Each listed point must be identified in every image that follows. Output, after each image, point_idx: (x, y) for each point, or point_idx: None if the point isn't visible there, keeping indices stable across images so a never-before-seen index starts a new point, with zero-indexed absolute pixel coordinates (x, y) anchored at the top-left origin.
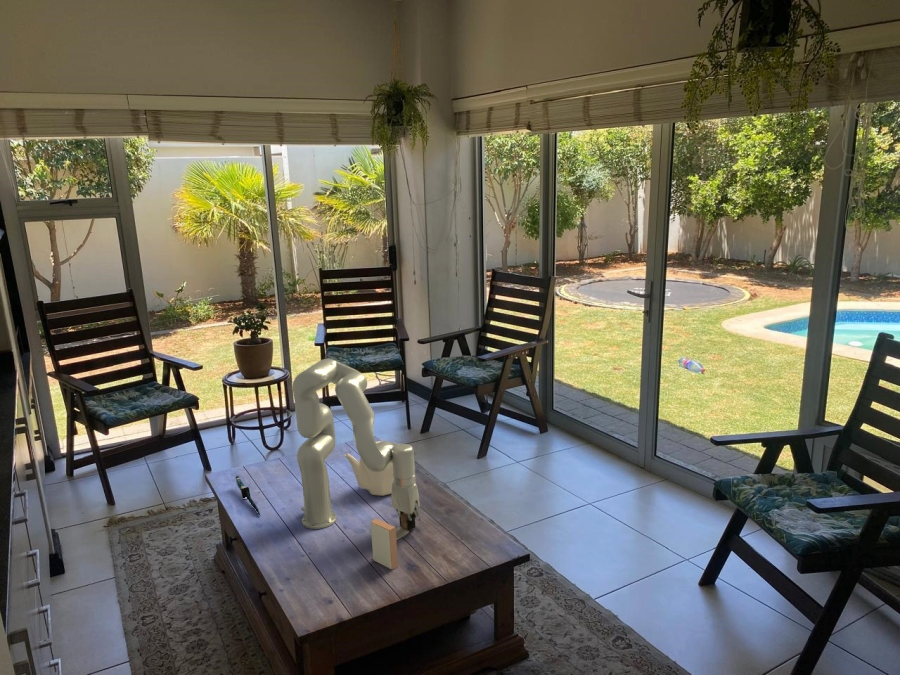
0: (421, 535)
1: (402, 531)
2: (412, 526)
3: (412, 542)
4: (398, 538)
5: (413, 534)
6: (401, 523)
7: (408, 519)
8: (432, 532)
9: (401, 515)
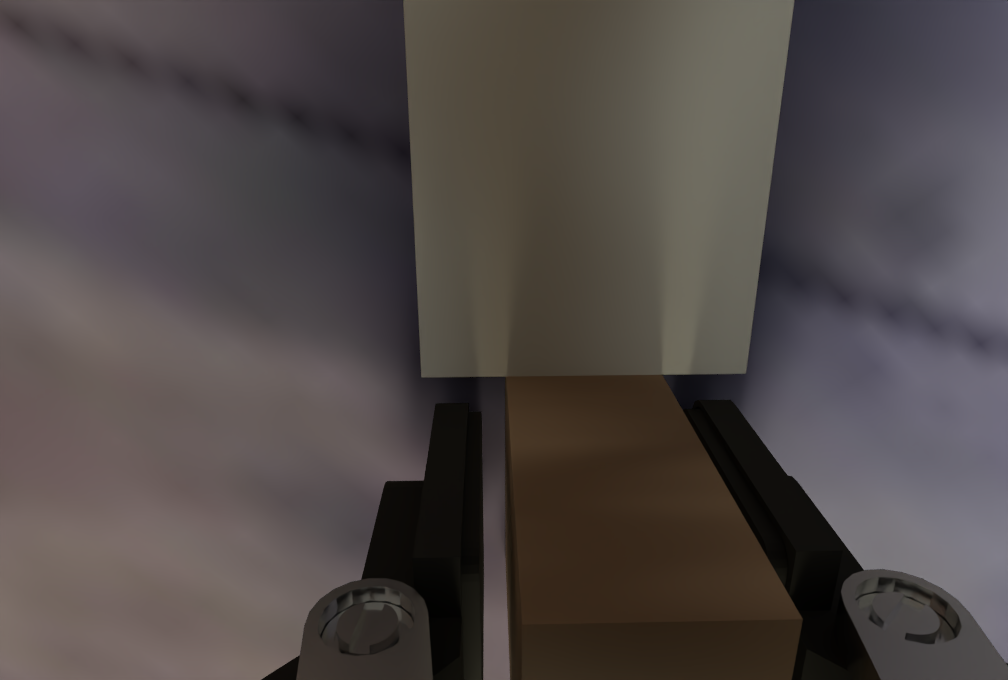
0: (155, 446)
1: (521, 279)
2: (386, 509)
3: (39, 130)
4: (406, 19)
5: (307, 378)
6: (672, 427)
7: (513, 610)
8: (102, 624)
9: (732, 600)
